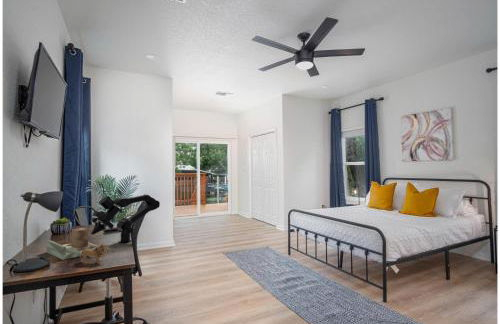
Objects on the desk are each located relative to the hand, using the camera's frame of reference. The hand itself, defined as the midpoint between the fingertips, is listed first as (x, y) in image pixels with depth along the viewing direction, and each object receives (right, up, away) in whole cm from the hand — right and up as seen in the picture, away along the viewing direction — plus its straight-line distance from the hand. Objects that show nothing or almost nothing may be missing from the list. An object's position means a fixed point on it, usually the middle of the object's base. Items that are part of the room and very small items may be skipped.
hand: (91, 234), depth 176 cm
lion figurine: (+15, -8, -26) cm, 31 cm away
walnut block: (-4, -6, -6) cm, 9 cm away
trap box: (-6, -8, -8) cm, 12 cm away
